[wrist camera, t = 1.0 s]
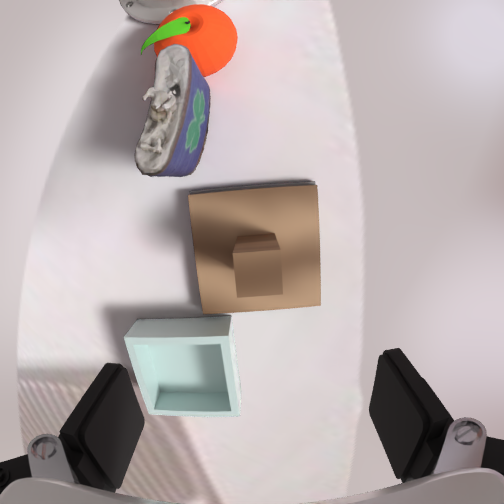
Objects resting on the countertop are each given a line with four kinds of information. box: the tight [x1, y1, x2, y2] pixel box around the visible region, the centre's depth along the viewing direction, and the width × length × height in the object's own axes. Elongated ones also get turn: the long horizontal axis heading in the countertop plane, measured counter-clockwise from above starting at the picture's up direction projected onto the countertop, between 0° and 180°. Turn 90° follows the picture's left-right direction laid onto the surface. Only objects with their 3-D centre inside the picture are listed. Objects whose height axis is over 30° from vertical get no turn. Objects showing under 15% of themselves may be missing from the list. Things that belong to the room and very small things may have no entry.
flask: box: [134, 44, 211, 177], centre depth 20 cm, size 9×3×11 cm, turn 170°
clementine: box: [141, 4, 237, 77], centre depth 20 cm, size 8×7×7 cm
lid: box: [188, 185, 321, 314], centre depth 24 cm, size 11×11×7 cm
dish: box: [124, 316, 241, 417], centre depth 29 cm, size 10×10×4 cm
